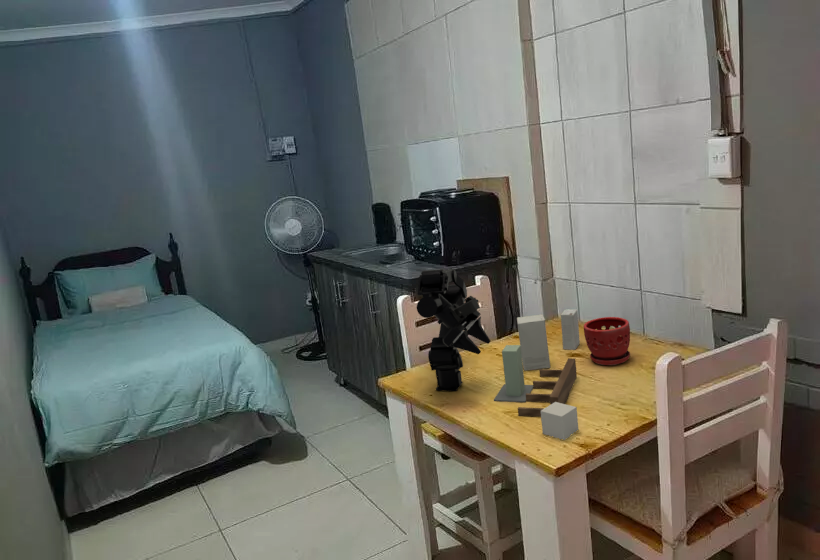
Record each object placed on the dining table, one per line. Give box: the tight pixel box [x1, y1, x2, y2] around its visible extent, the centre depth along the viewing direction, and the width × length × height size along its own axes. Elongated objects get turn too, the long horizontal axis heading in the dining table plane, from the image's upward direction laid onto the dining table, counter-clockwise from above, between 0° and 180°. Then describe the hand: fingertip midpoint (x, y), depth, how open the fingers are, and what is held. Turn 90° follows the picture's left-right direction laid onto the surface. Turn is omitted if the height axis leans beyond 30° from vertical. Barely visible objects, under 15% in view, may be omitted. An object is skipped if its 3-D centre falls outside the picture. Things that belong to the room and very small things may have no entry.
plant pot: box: [583, 316, 631, 366], centre depth 186 cm, size 13×13×12 cm
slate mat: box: [493, 383, 534, 403], centre depth 173 cm, size 9×11×1 cm
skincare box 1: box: [516, 314, 551, 372], centre depth 189 cm, size 8×7×16 cm
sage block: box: [501, 344, 526, 396], centre depth 171 cm, size 4×5×13 cm
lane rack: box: [517, 357, 578, 418], centre depth 168 cm, size 10×27×6 cm, turn 156°
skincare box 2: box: [560, 308, 581, 351], centre depth 202 cm, size 6×4×12 cm
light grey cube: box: [540, 402, 579, 441], centre depth 147 cm, size 6×6×6 cm
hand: (484, 347), depth 172 cm, fingers open, 9 cm apart
